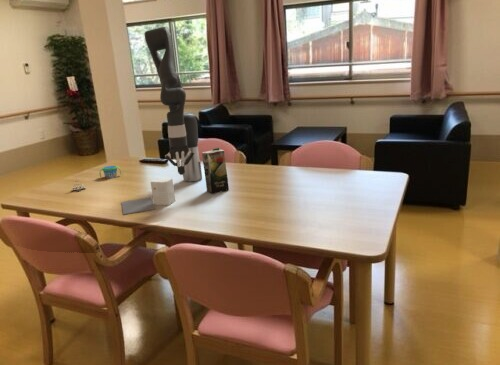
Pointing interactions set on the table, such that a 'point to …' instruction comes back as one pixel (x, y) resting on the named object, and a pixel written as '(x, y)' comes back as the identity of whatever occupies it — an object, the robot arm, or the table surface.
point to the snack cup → (110, 171)
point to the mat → (137, 206)
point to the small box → (163, 191)
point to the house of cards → (78, 187)
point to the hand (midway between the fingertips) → (181, 174)
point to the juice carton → (215, 171)
